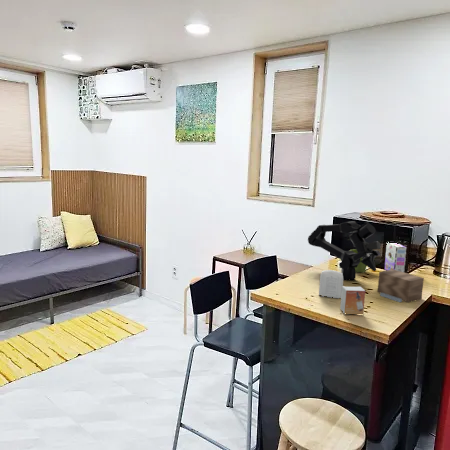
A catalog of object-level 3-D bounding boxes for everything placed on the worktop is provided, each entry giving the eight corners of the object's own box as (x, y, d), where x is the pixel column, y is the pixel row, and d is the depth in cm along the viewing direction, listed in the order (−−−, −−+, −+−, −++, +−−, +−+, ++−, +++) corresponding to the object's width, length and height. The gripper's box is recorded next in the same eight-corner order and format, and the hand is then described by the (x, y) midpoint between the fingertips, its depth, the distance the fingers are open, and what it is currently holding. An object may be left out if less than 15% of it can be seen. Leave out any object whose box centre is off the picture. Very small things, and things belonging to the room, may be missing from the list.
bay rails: (380, 295, 180) (380, 293, 180) (400, 289, 189) (400, 287, 189) (399, 302, 172) (400, 299, 172) (419, 295, 181) (420, 293, 181)
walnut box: (377, 292, 186) (379, 271, 184) (391, 288, 191) (392, 269, 189) (407, 302, 172) (410, 281, 171) (421, 299, 177) (423, 278, 176)
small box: (343, 315, 156) (345, 290, 155) (339, 310, 162) (341, 285, 160) (363, 315, 156) (365, 290, 155) (359, 310, 162) (360, 286, 160)
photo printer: (342, 296, 178) (343, 270, 176) (341, 299, 174) (343, 272, 172) (319, 293, 181) (320, 268, 179) (318, 296, 177) (320, 270, 175)
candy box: (404, 276, 212) (407, 247, 209) (393, 276, 212) (396, 246, 209) (394, 269, 225) (396, 241, 223) (383, 269, 225) (386, 241, 223)
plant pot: (366, 275, 213) (368, 255, 211) (345, 271, 219) (346, 252, 217) (372, 270, 223) (373, 251, 221) (351, 266, 229) (352, 248, 227)
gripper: (363, 235, 186) (380, 264, 180) (380, 235, 199) (396, 262, 193) (345, 246, 193) (361, 275, 187) (363, 245, 206) (378, 272, 200)
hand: (375, 270), depth 191 cm, fingers closed
